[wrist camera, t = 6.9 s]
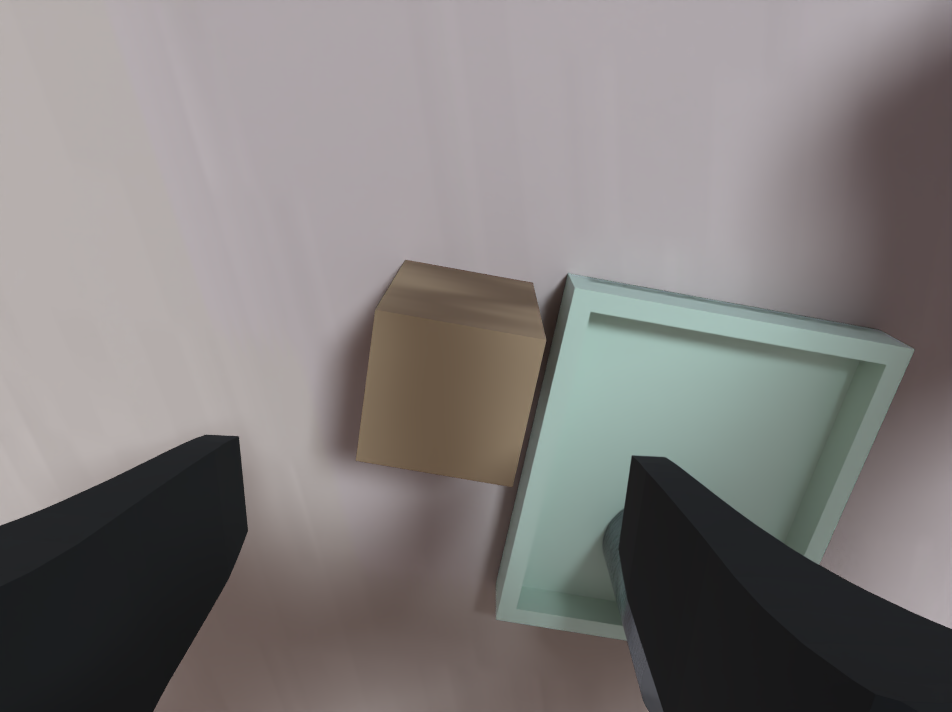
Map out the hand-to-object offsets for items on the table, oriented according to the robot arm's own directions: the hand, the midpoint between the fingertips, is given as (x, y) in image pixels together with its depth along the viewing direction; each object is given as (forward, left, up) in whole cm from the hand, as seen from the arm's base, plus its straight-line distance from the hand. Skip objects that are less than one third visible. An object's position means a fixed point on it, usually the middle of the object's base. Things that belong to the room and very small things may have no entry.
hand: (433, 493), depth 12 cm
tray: (-8, +3, -9) cm, 13 cm away
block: (0, 0, -9) cm, 9 cm away
